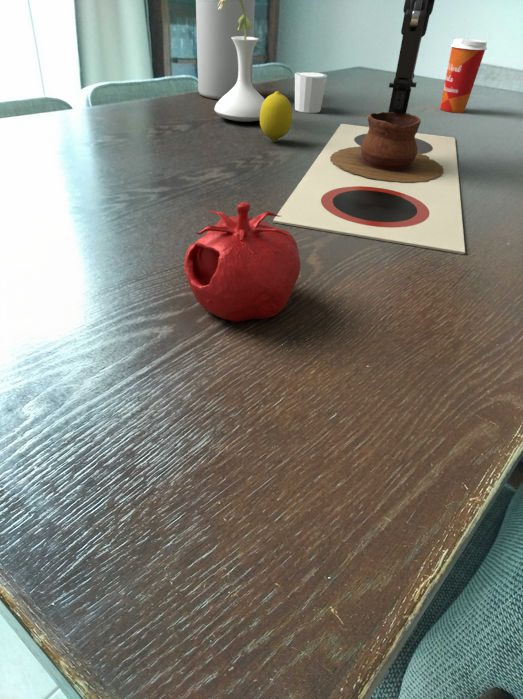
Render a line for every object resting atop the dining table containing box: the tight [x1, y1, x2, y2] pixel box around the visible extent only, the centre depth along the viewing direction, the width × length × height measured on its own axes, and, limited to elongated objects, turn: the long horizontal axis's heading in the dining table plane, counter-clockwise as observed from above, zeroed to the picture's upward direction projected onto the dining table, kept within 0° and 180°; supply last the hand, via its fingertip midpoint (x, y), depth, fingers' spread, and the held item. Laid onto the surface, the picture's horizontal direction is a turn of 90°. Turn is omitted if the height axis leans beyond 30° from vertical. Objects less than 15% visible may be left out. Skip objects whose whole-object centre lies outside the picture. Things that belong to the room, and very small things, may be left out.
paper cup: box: [439, 38, 488, 114], centre depth 112 cm, size 8×8×14 cm
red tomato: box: [183, 201, 301, 323], centre depth 42 cm, size 10×10×9 cm
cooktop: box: [272, 123, 466, 255], centre depth 76 cm, size 22×52×1 cm, turn 164°
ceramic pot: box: [330, 111, 444, 182], centre depth 76 cm, size 18×18×7 cm
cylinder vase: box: [195, 0, 256, 101], centre depth 108 cm, size 12×12×25 cm
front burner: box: [321, 186, 430, 228], centre depth 64 cm, size 14×14×1 cm
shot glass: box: [294, 71, 328, 114], centre depth 106 cm, size 7×7×7 cm
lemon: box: [259, 90, 293, 143], centre depth 84 cm, size 6×6×8 cm
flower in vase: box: [214, 0, 266, 123], centre depth 90 cm, size 13×11×25 cm
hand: (393, 132), depth 80 cm, fingers closed
